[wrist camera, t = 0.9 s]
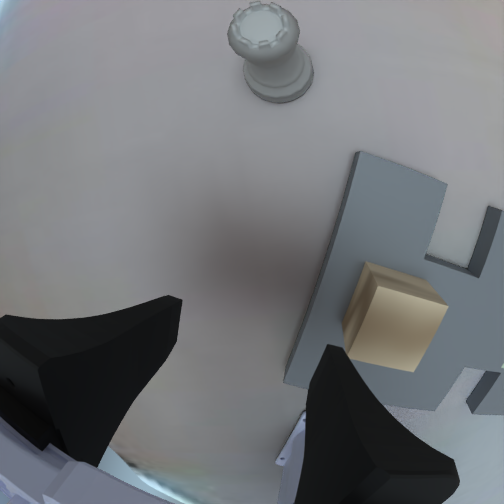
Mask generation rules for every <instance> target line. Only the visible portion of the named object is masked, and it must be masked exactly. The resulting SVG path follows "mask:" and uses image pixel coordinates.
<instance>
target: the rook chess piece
mask: <svg viewBox="0 0 504 504" xmlns="http://www.w3.org/2000/svg"><path fill="white" fill-rule="evenodd" d="M249 4H250V6H251V7H249V8H247V9H245V10H241V9H240V8H239V9H238V10H237V12H236V13H235V14H234V15H233V17H234V19H233V20H232V22H231V23H230V26H229V30H228V33H227V35H228V40H229V45H230V46H231V47H232V49H233V50H234V51H235V53H236V54H238V55H239V56H241V57H243V58H245V62H244V66H243V70H244V76H245V80H246V81H247V84H248V85H249V87H250V88H251V90H252V91H253V93H254V94H256V95H257V96H259V97H261V98H262V99H264V100H266V101H271V102H276V103H281V102H287V101H292V100H294V99H296V98H298V97H299V96H301V95H303V94H304V93H305V91H306V90H307V89H308V88H309V86H310V85H311V82H312V78H313V74H314V72H313V67H312V63H311V59H310V56H309V55H308V54H307V52H306V51H305V50H304V49H303V47H302V46H300V45H298V44H297V42H298V38H299V34H300V29H299V26H298V22H297V20H296V19H295V17H294V16H293V15H292V14H291V13H290V12H289V11H287V10H285V9H283V8H281V6H279V5H277V4H275V3H273V2H271V3H270V5H268V4H261V1H256V2H251V3H249Z"/></svg>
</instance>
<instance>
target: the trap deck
mask: <svg viewBox="0 0 504 504" xmlns="http://www.w3.org/2000/svg"><path fill="white" fill-rule="evenodd" d="M446 188H447V184H446V183H444V182H442V181H439V180H437V179H435V178H432V177H430V176H427V175H425V174H422V173H420V172H417V171H415V170H412V169H410V168H407V167H404V166H402V165H399V164H396V163H394V162H391V161H388V160H385V159H382V158H379V157H377V156H374V155H371V154H368V153H365V152H362V151H359V152H356V153H355V157H354V161H353V164H352V168H351V172H350V176H349V179H348V183H347V187H346V190H345V194H344V197H343V201H342V204H341V208H340V211H339V215H338V218H337V221H336V225H335V228H334V231H333V235H332V238H331V241H330V244H329V247H328V251H327V254H326V257H325V260H324V263H323V266H322V269H321V272H320V275H319V278H318V281H317V284H316V287H315V290H314V293H313V296H312V299H311V301H310V304H309V307H308V310H307V313H306V315H305V318H304V321H303V324H302V326H301V329H300V332H299V334H298V337H297V340H296V342H295V345H294V348H293V350H292V353H291V355H290V358H289V361H288V363H287V366H286V369H285V375H284V381H283V383H286V384H289V385H293V386H297V387H301V388H305V389H309V383H310V381H311V379H312V377H313V374H314V372H315V370H316V368H317V366H318V364H319V361H320V359H321V357H322V355H323V352H324V350H325V348H326V346H327V344H330V345H334V346H338V347H342V348H343V349H344V351H345V344H344V336H343V329H342V321H343V319H344V316H345V314H346V312H347V309H348V307H349V304H350V302H351V299H352V297H353V294H354V291H355V289H356V286H357V284H358V281H359V278H360V275H361V273H362V270H363V267H364V264H365V262H366V261H367V262H370V263H373V264H376V265H380V266H383V267H386V268H389V269H393V270H396V271H399V272H402V273H406V274H409V275H412V276H415V277H418V278H422V279H425V280H427V282H428V283H429V284H430V285H431V286H432V287H433V288H434V290H435V291H436V292H437V293H438V294H439V295H440V297H441V298H442V299H443V300H444V301H445V302H446V304H447V305H448V306H449V307H448V309H447V311H446V313H445V315H444V317H443V319H442V321H441V323H440V325H439V327H438V329H437V331H436V333H435V335H434V337H433V339H432V341H431V343H430V344H429V346H428V348H427V350H426V352H425V354H424V355H423V357H422V359H421V361H420V362H419V364H418V366H417V367H416V369H415V371H414V372H410V371H404V370H399V369H394V368H390V367H385V366H380V365H375V364H371V363H366V362H362V361H358V360H353V359H350V360H351V362H352V363H353V365H354V367H355V368H356V370H357V371H358V373H359V374H360V376H361V377H362V379H363V380H364V382H365V383H366V385H367V386H368V387H369V389H370V390H371V391H372V393H373V394H374V395H375V397H376V398H377V399H378V400H379V402H380V403H381V404H384V405H390V406H397V407H404V408H411V409H419V410H428V411H435V410H436V408H437V407H438V406H439V404H440V403H441V402H442V400H443V399H444V397H445V396H446V394H447V393H448V392H449V390H450V389H451V387H452V386H453V384H454V383H455V381H456V380H457V378H458V377H459V375H460V373H461V372H462V370H463V369H464V367H468V368H474V369H480V370H486V372H485V374H484V376H483V377H482V379H481V380H480V382H479V383H478V385H477V386H476V388H475V389H474V390H473V392H472V393H471V395H470V396H469V398H468V399H467V400H466V402H467V404H468V406H469V409H470V411H471V413H472V414H479V415H504V211H502V210H499V209H496V208H493V207H490V206H488V209H487V213H486V216H485V220H484V223H483V226H482V229H481V232H480V235H479V239H478V241H477V244H476V247H475V250H474V253H473V256H472V258H471V261H470V264H469V266H468V269H465V268H463V267H460V266H457V265H454V264H452V263H449V262H446V261H443V260H440V259H438V258H435V257H432V256H429V255H426V252H427V249H428V246H429V243H430V240H431V237H432V234H433V231H434V228H435V225H436V222H437V219H438V216H439V213H440V209H441V206H442V202H443V199H444V195H445V192H446ZM345 352H346V351H345Z"/></svg>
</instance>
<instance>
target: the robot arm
mask: <svg viewBox="0 0 504 504" xmlns="http://www.w3.org/2000/svg"><path fill="white" fill-rule="evenodd" d="M181 307H182V300H181V299H178V298H176V297H173V296H170V295H167V296H163V297H160V298H157V299H154V300H151V301H148V302H145V303H142V304H139V305H136V306H133V307H130V308H126V309H123V310H119V311H115V312H111V313H107V314H103V315H98V316H92V317H85V318H74V319H33V318H25V317H18V316H11V315H5V316H3V317H1V318H0V490H1V491H2V492H3V493H4V494H5V495H6V496H7V497H8V498H9V499H10V501H9V502H8V503H7V504H174V503H171V502H169V501H167V500H164V499H161V498H159V497H157V496H154V495H152V494H150V493H147V492H145V491H143V490H141V489H138V488H136V487H134V486H132V485H130V484H128V483H126V482H124V481H122V480H120V479H118V478H116V477H114V476H112V475H110V474H108V473H106V472H105V471H103V470H101V469H98V468H97V467H98V465H99V463H100V461H101V459H102V457H103V455H104V453H105V451H106V449H107V447H108V445H109V443H110V441H111V439H112V437H113V435H114V434H115V432H116V430H117V428H118V426H119V425H120V423H121V421H122V419H123V418H124V416H125V414H126V413H127V411H128V409H129V408H130V406H131V405H132V403H133V402H134V400H135V399H136V397H137V396H138V395H139V393H140V392H141V391H142V390H143V388H144V387H145V386H146V385H147V383H148V382H149V381H150V380H151V378H152V377H153V376H154V375H155V373H156V372H157V371H158V370H159V368H160V367H161V366H162V365H163V363H164V362H165V361H166V359H167V358H168V356H169V354H170V352H171V351H172V349H173V347H174V345H175V344H176V342H177V335H178V328H179V321H180V314H181ZM305 418H306V419H305ZM275 463H276V464H277V465H281V466H284V468H283V474H282V480H281V485H280V491H279V496H278V502H277V504H442V503H443V502H444V501H446V500H447V499H448V498H449V497H450V496H451V495H452V494H453V493H454V492H455V491H456V489H457V488H458V486H459V483H460V479H459V476H458V472H457V469H456V465H455V462H454V459H452V458H450V457H448V456H446V455H444V454H443V453H441V452H439V451H437V450H435V449H434V448H432V447H430V446H429V445H428V444H426V443H425V442H423V441H422V440H420V439H419V438H418V437H416V436H415V435H414V434H412V433H411V432H410V431H409V430H408V429H406V428H405V427H404V426H403V425H402V424H401V423H400V422H398V421H397V420H396V419H395V418H394V417H393V416H392V415H391V414H390V413H389V412H388V410H387V409H386V408H385V407H384V406H383V405H382V404H381V403H380V402H379V400H378V399H377V398H376V397H375V395H374V394H373V393H372V391H371V390H370V389H369V387H368V386H367V385H366V383H365V382H364V380H363V379H362V377H361V376H360V374H359V373H358V371H357V370H356V368H355V367H354V365H353V363H352V362H351V360H350V359H349V357H348V355H347V354H346V352H345V351H344V349H343V348H342V347H338V346H334V345H330V344H327V346H326V348H325V350H324V352H323V355H322V357H321V359H320V361H319V364H318V366H317V368H316V370H315V372H314V374H313V377H312V379H311V381H310V383H309V389H308V395H307V401H306V411H305V412H303V413H302V415H301V417H300V419H299V421H298V423H297V424H296V426H295V428H294V430H293V432H292V433H291V435H290V437H289V439H288V440H287V442H286V444H285V445H284V447H283V449H282V451H281V452H280V454H279V456H278V457H277V459H276V462H275Z"/></svg>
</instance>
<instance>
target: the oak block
mask: <svg viewBox="0 0 504 504" xmlns="http://www.w3.org/2000/svg"><path fill="white" fill-rule="evenodd" d="M448 307H449V306H448V305H447V304H446V302H445V301H444V300H443V299H442V298H441V297H440V295H439V294H438V293H437V292H436V291H435V290H434V288H433V287H432V286H431V285H430V284H429V283H428V282H427V280H425V279H422V278H418V277H415V276H412V275H409V274H406V273H402V272H399V271H396V270H393V269H389V268H386V267H383V266H380V265H376V264H373V263H370V262H367V261H366V262H365V264H364V267H363V270H362V273H361V275H360V278H359V281H358V284H357V286H356V289H355V291H354V294H353V297H352V299H351V302H350V304H349V307H348V309H347V312H346V314H345V316H344V319H343V321H342V329H343V336H344V344H345V351H346V354H347V355H348V357H349V359H353V360H358V361H362V362H366V363H371V364H375V365H380V366H385V367H390V368H394V369H399V370H404V371H410V372H414V371H415V369H416V367H417V366H418V364H419V362H420V361H421V359H422V357H423V355H424V354H425V352H426V350H427V348H428V346H429V344H430V343H431V341H432V339H433V337H434V335H435V333H436V331H437V329H438V327H439V325H440V323H441V321H442V319H443V317H444V315H445V313H446V311H447V309H448Z"/></svg>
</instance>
